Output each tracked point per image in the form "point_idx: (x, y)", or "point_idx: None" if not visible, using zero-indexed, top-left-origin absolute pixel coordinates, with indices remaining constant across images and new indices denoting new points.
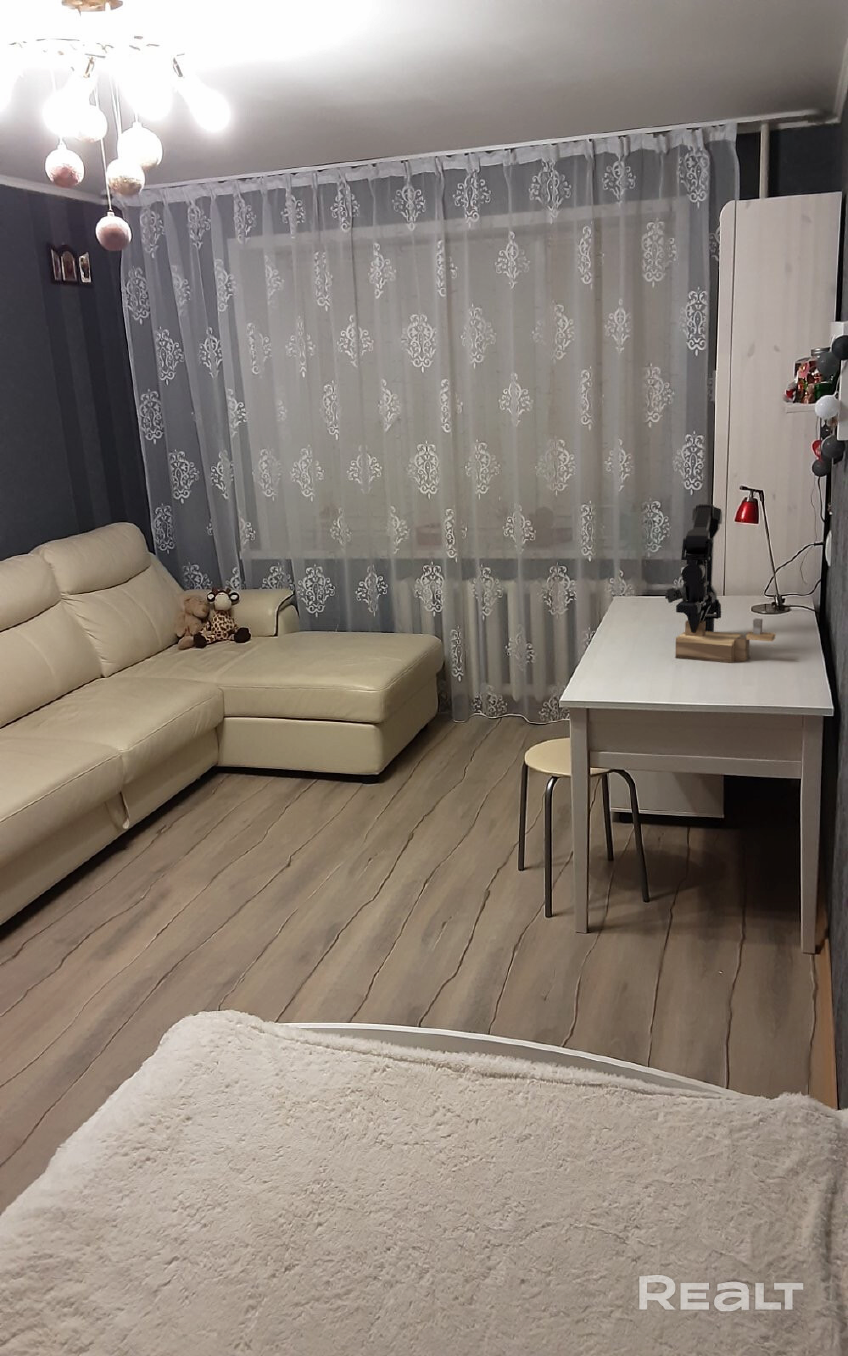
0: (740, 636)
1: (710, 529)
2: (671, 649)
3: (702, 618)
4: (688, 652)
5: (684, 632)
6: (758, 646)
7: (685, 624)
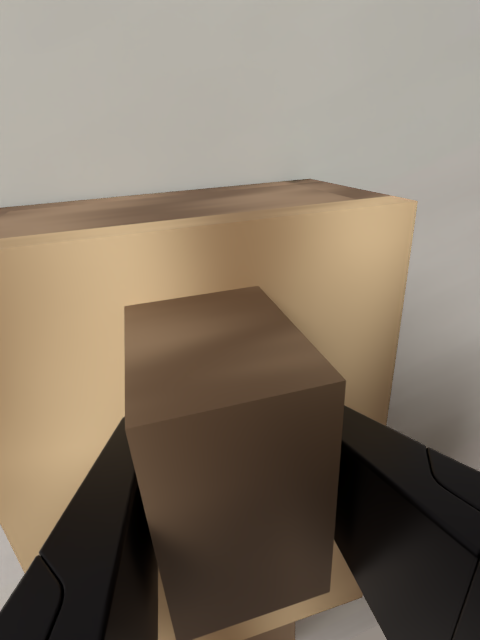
0: (286, 631)
1: None
2: (292, 34)
3: (366, 586)
4: None
5: (271, 231)
6: (465, 460)
7: (128, 394)
